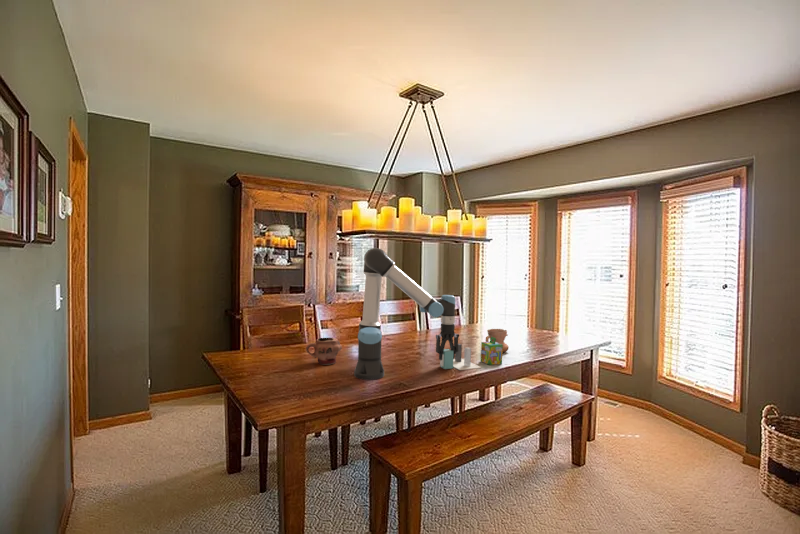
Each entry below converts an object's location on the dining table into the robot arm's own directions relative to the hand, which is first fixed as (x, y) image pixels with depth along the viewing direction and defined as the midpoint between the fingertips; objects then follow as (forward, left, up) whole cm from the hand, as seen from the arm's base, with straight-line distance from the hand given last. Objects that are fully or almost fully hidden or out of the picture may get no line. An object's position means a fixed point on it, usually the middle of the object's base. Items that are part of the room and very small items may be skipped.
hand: (446, 365), depth 227 cm
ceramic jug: (+49, +23, -2) cm, 54 cm away
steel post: (+12, -2, -1) cm, 12 cm away
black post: (+12, +8, -1) cm, 14 cm away
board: (+11, +3, -1) cm, 11 cm away
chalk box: (+30, +1, -2) cm, 30 cm away
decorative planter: (-62, +28, -1) cm, 68 cm away
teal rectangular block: (0, 0, -1) cm, 1 cm away
